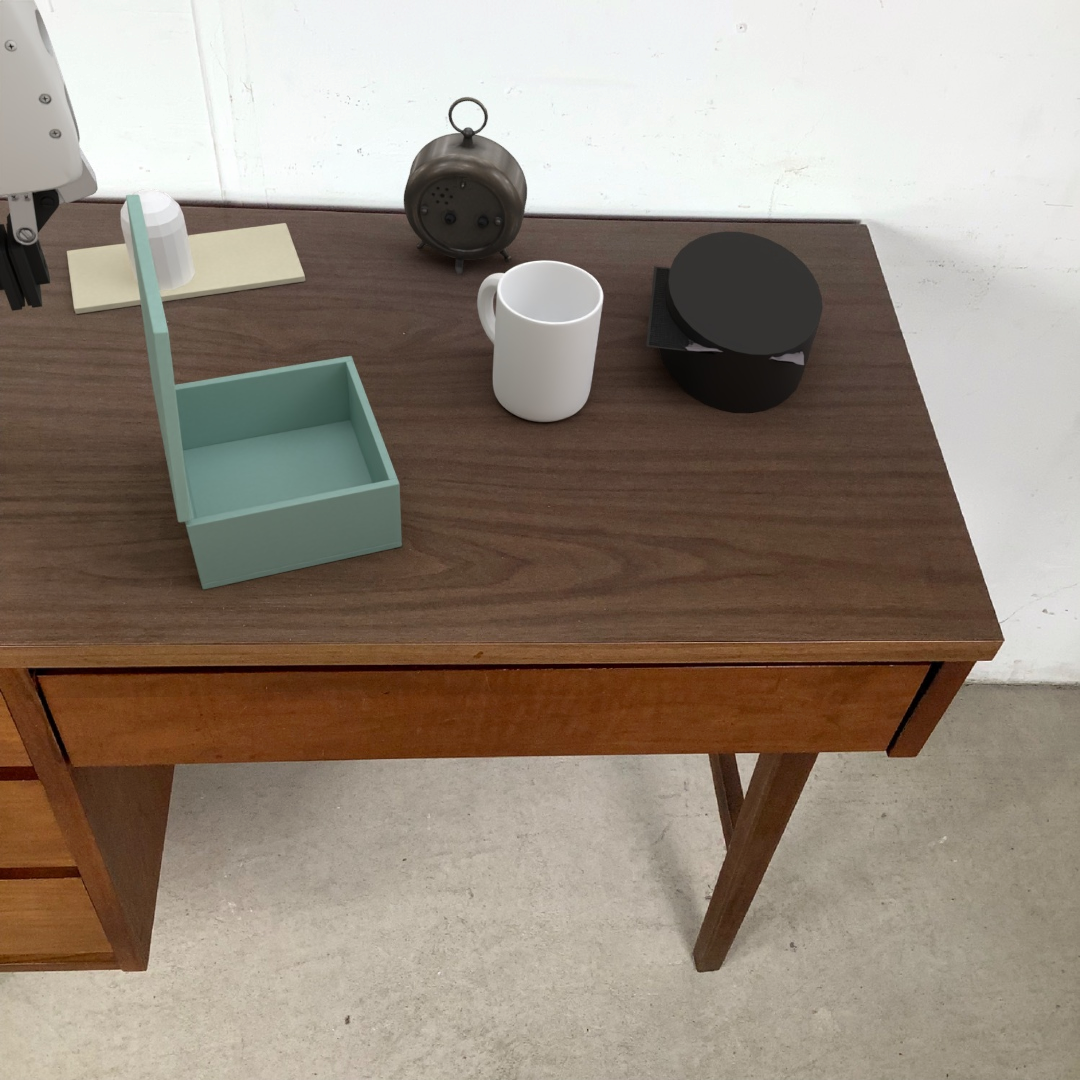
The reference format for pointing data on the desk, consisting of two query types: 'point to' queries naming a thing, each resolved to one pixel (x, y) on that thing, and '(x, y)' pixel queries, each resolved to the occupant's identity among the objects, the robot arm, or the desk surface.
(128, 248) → the capsule
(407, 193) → the alarm clock
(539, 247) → the desk surface
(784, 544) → the desk surface
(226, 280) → the mat
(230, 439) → the mint green open box
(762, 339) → the black round box
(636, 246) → the desk surface
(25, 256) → the robot arm
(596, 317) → the mug
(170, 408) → the lid
